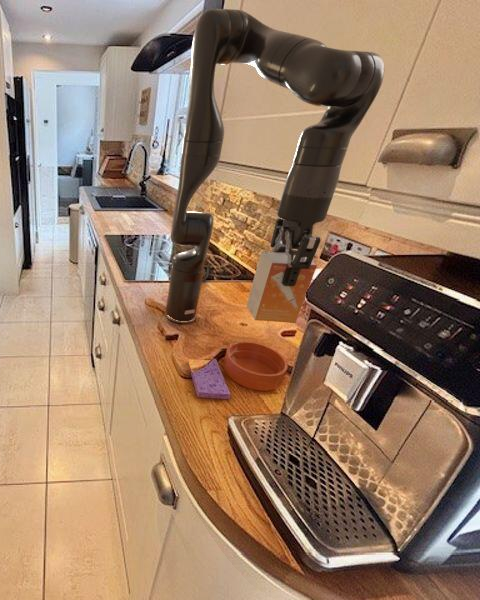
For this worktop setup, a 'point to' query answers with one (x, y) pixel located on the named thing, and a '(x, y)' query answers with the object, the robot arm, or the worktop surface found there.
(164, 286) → the worktop surface
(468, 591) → the worktop surface
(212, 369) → the sponge
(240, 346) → the bowl
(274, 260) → the small box
